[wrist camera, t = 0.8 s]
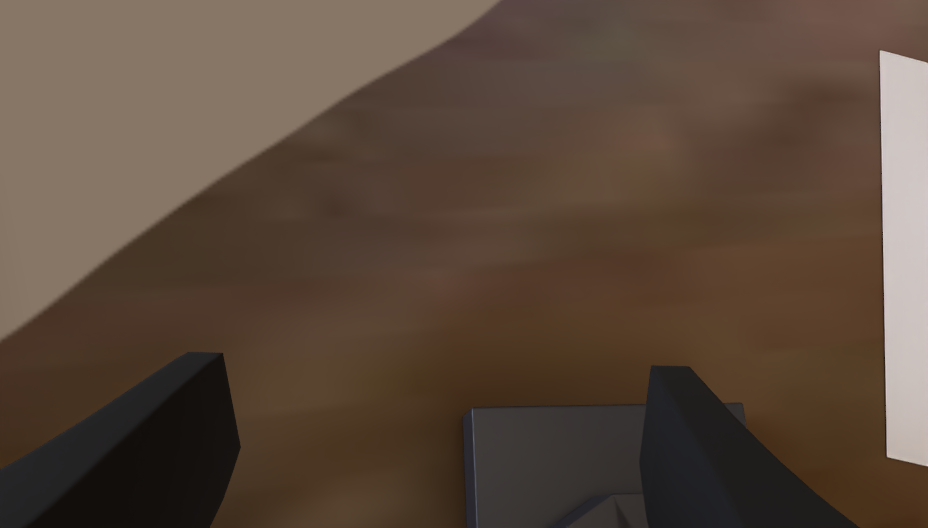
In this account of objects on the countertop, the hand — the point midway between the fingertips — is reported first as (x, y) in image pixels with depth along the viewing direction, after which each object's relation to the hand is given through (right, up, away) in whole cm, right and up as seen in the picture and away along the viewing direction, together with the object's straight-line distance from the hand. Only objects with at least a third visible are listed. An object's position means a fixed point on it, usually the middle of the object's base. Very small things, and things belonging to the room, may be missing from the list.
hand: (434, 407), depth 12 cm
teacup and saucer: (+29, +1, +21) cm, 36 cm away
